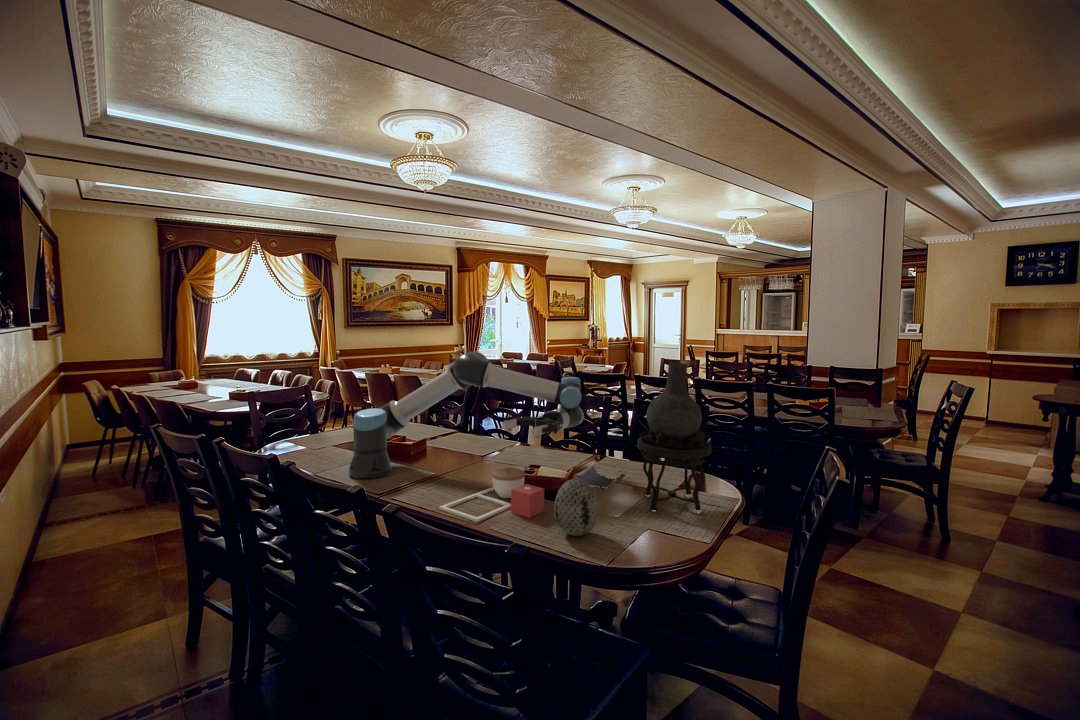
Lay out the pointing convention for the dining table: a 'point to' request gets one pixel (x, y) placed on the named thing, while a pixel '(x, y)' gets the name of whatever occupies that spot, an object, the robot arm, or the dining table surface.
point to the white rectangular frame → (479, 495)
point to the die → (527, 500)
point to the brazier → (674, 436)
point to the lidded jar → (507, 480)
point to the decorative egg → (576, 507)
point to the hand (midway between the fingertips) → (519, 428)
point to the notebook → (595, 479)
